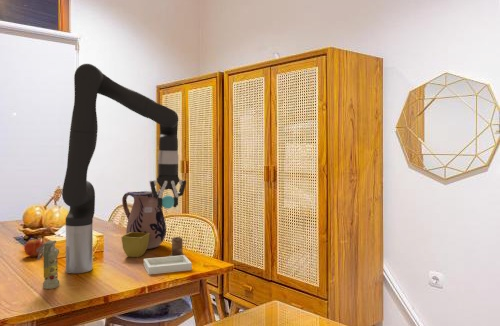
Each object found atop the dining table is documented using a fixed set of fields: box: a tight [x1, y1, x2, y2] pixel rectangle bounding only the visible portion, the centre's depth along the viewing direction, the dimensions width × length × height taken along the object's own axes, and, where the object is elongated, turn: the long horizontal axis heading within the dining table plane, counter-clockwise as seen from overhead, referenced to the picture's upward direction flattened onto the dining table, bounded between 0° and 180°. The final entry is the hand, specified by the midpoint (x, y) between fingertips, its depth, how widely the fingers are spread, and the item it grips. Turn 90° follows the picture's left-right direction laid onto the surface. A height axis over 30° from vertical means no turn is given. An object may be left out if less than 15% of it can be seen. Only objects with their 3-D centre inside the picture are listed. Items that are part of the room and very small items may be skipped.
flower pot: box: [121, 232, 150, 258], centre depth 176 cm, size 9×9×9 cm
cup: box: [169, 236, 185, 256], centre depth 176 cm, size 6×6×8 cm
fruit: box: [24, 237, 44, 258], centre depth 173 cm, size 7×7×8 cm
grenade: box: [36, 240, 60, 290], centre depth 137 cm, size 6×7×15 cm
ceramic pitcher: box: [121, 190, 167, 250], centre depth 190 cm, size 18×21×25 cm
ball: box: [161, 195, 174, 210], centre depth 160 cm, size 5×5×5 cm
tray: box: [143, 254, 193, 275], centre depth 160 cm, size 16×12×3 cm
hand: (167, 207), depth 160 cm, fingers closed on ball, 5 cm apart
